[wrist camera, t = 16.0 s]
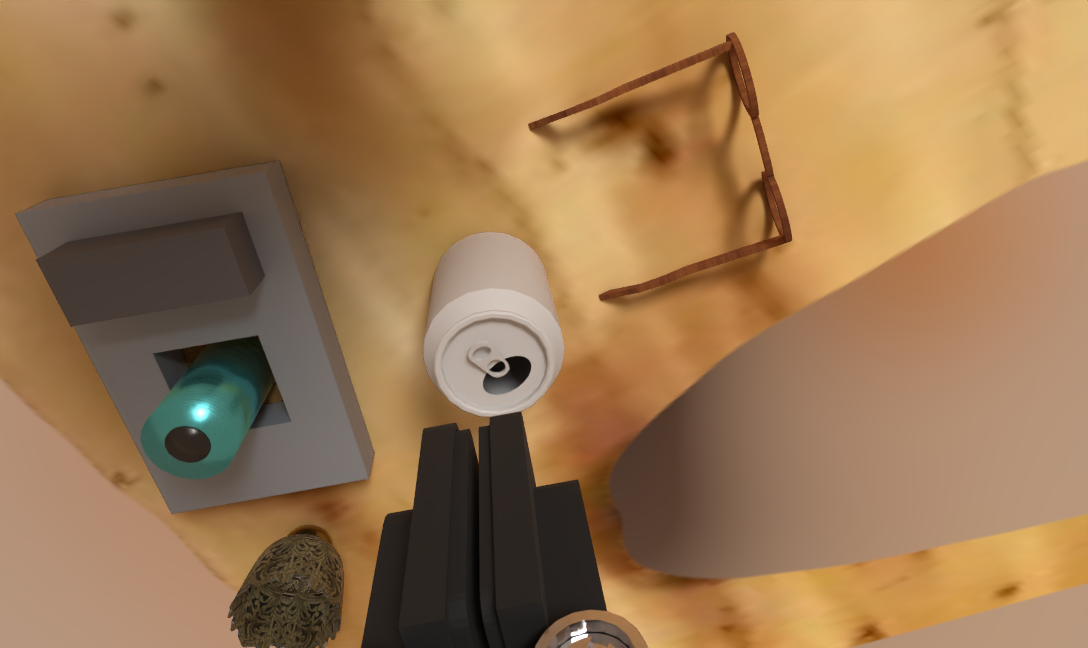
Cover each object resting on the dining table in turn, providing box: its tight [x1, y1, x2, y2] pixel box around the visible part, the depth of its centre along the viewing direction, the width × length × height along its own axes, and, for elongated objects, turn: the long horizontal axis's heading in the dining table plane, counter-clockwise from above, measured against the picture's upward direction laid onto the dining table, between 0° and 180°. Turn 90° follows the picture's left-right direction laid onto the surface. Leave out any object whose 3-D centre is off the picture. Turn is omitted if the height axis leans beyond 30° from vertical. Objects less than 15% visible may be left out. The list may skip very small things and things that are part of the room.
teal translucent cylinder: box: [141, 336, 275, 479], centre depth 41 cm, size 5×5×9 cm
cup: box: [228, 525, 344, 648], centre depth 49 cm, size 8×7×8 cm
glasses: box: [528, 32, 792, 300], centre depth 40 cm, size 13×13×5 cm
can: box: [423, 232, 564, 417], centre depth 39 cm, size 8×8×12 cm
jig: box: [15, 161, 375, 514], centre depth 41 cm, size 22×14×6 cm, turn 9°
